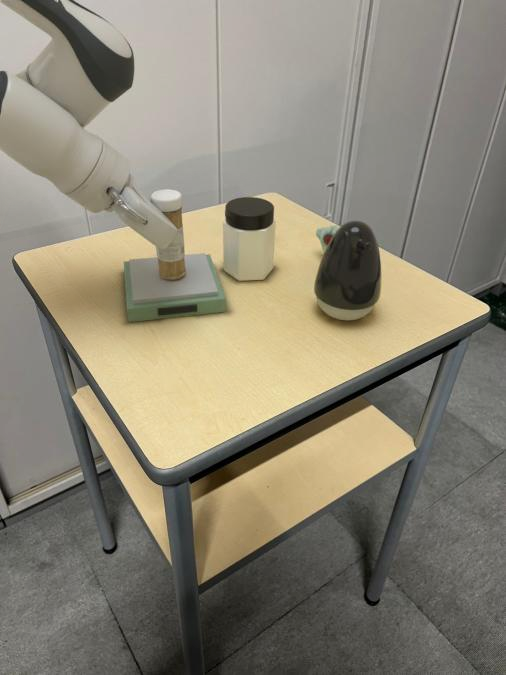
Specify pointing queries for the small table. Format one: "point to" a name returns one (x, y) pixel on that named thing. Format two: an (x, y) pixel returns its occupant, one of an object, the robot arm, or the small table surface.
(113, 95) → the robot arm
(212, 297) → the kitchen scale
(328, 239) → the robot head
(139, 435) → the small table surface
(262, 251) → the jar
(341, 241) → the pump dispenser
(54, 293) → the small table surface
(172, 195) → the sprinkles bottle
